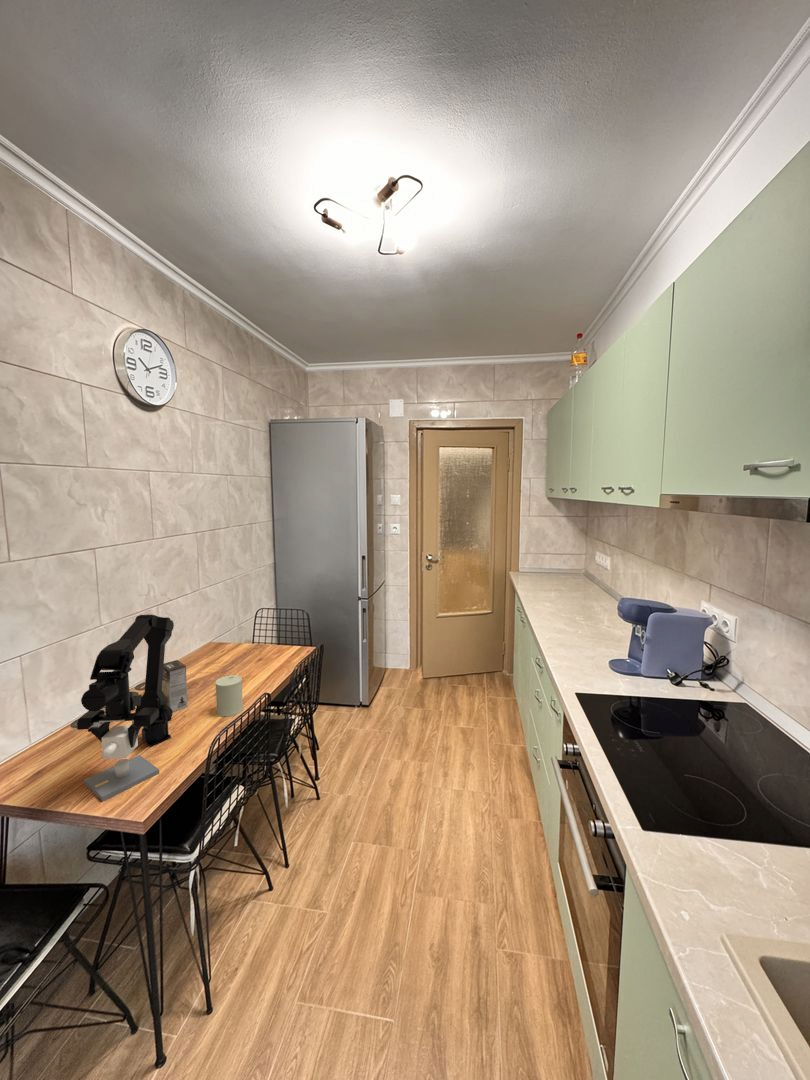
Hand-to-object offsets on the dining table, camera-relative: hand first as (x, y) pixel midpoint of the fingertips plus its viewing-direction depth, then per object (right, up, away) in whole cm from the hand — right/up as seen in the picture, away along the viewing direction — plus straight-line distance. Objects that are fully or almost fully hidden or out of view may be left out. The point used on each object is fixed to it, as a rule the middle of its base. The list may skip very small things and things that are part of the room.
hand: (120, 747), depth 119 cm
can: (+14, -6, +40) cm, 42 cm away
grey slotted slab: (0, -9, +1) cm, 9 cm away
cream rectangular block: (0, -1, -2) cm, 2 cm away
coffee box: (-8, -5, +43) cm, 44 cm away
